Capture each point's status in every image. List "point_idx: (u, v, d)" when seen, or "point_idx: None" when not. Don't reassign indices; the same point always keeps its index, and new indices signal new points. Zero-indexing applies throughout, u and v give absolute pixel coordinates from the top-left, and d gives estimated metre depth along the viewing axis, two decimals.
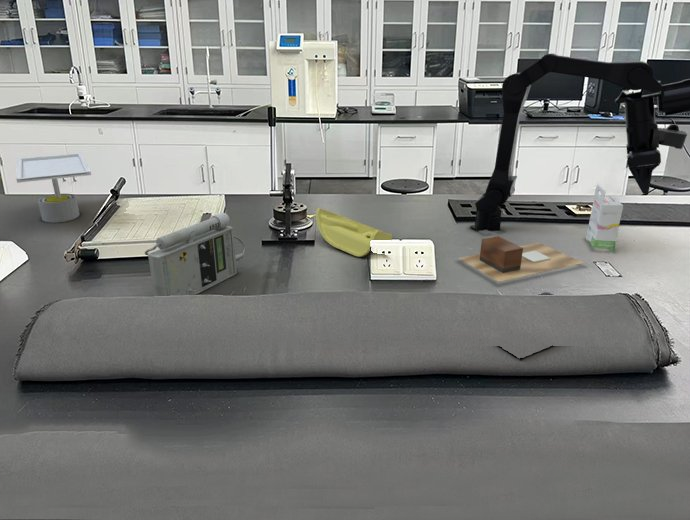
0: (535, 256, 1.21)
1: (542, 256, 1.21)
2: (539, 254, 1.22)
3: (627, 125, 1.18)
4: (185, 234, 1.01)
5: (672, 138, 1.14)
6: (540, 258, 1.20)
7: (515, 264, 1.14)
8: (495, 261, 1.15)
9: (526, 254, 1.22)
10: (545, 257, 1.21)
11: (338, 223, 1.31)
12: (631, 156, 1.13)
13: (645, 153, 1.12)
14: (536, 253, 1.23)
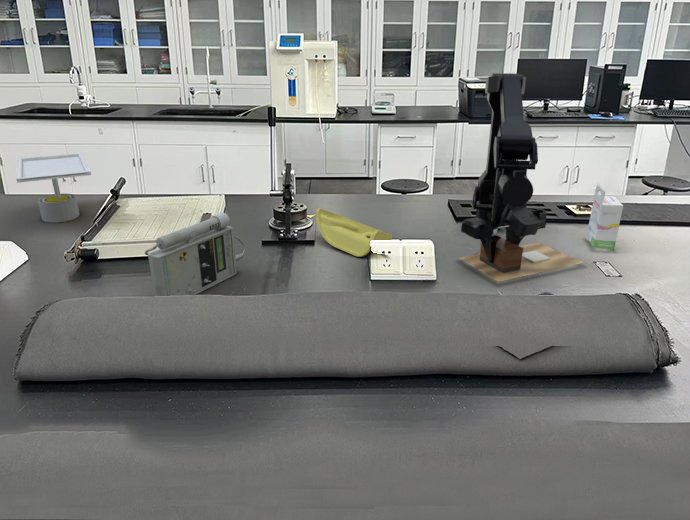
0: (535, 256, 1.21)
1: (542, 256, 1.21)
2: (539, 254, 1.22)
3: None
4: (184, 234, 1.01)
5: (515, 222, 1.07)
6: (540, 258, 1.20)
7: (515, 264, 1.14)
8: (495, 261, 1.15)
9: (526, 254, 1.22)
10: (545, 257, 1.21)
11: (338, 223, 1.31)
12: (463, 221, 1.12)
13: (471, 224, 1.10)
14: (536, 253, 1.23)
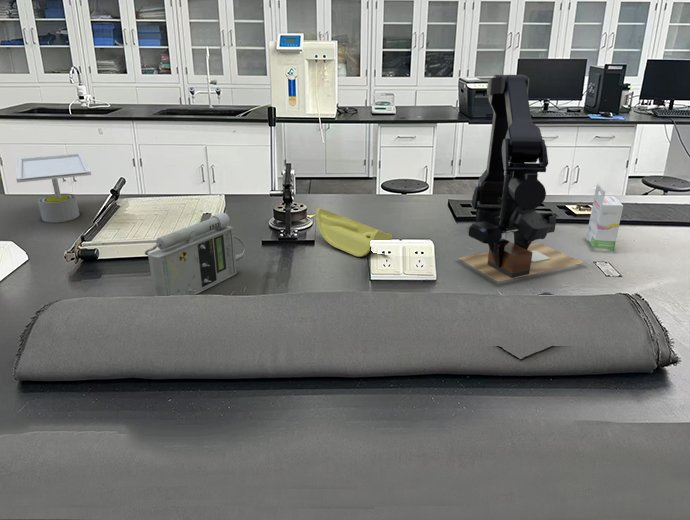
0: (535, 256, 1.21)
1: (542, 256, 1.21)
2: (539, 254, 1.22)
3: None
4: (184, 234, 1.01)
5: (524, 226, 1.05)
6: (540, 258, 1.20)
7: (524, 269, 1.12)
8: (504, 265, 1.13)
9: None
10: (545, 257, 1.21)
11: (338, 223, 1.31)
12: (471, 225, 1.10)
13: (479, 228, 1.08)
14: (536, 253, 1.23)
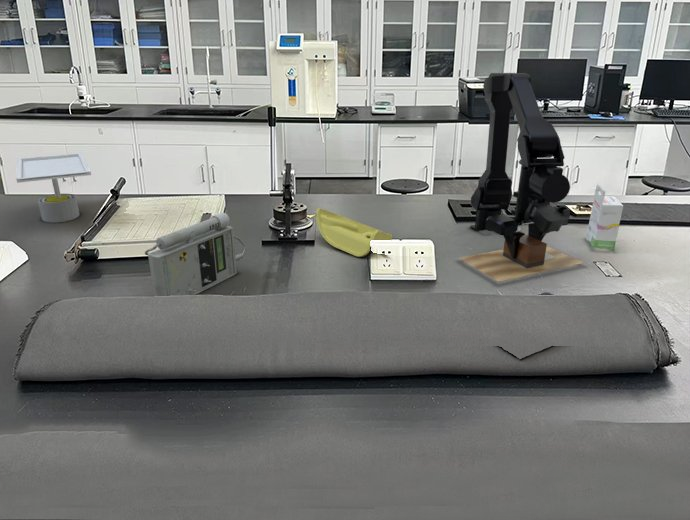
0: None
1: (547, 255, 1.22)
2: None
3: None
4: (184, 234, 1.01)
5: (539, 219, 1.10)
6: (545, 257, 1.21)
7: (539, 259, 1.17)
8: (519, 256, 1.17)
9: None
10: (550, 256, 1.21)
11: (338, 223, 1.31)
12: (488, 218, 1.15)
13: (496, 221, 1.13)
14: None
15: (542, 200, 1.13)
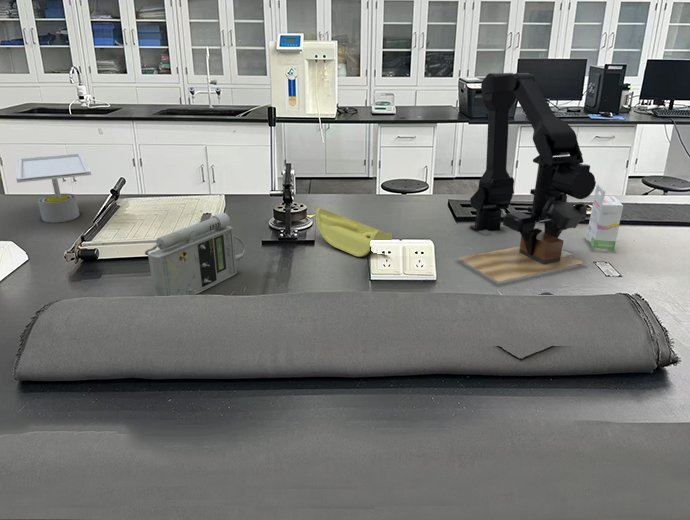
0: None
1: (563, 252, 1.23)
2: None
3: None
4: (185, 234, 1.01)
5: (557, 216, 1.12)
6: (561, 254, 1.22)
7: (555, 256, 1.18)
8: (536, 253, 1.19)
9: None
10: (566, 253, 1.23)
11: (338, 223, 1.31)
12: (505, 215, 1.17)
13: (514, 218, 1.14)
14: None
15: (559, 197, 1.14)
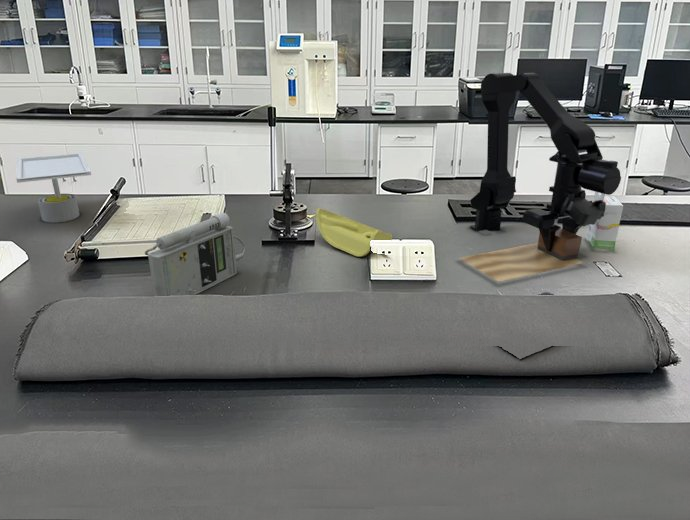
0: None
1: None
2: None
3: None
4: (184, 234, 1.01)
5: (576, 213, 1.14)
6: None
7: (574, 252, 1.20)
8: (554, 249, 1.21)
9: None
10: None
11: (338, 223, 1.31)
12: (525, 212, 1.19)
13: (533, 214, 1.16)
14: None
15: (578, 194, 1.16)
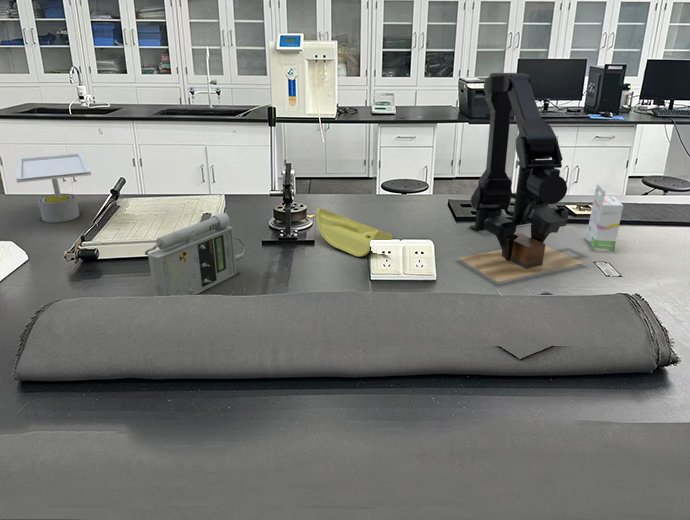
0: None
1: None
2: None
3: None
4: (184, 234, 1.01)
5: (537, 220, 1.10)
6: None
7: (537, 260, 1.16)
8: (518, 257, 1.17)
9: None
10: None
11: (338, 223, 1.31)
12: (486, 220, 1.15)
13: (494, 222, 1.12)
14: None
15: (540, 201, 1.12)
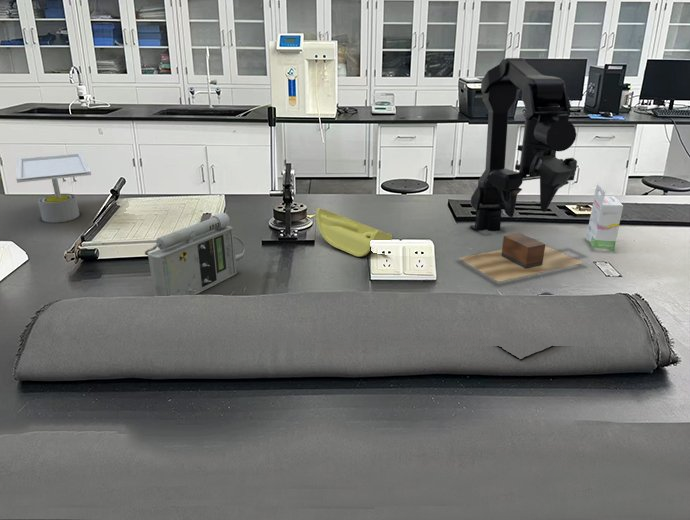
0: None
1: None
2: None
3: None
4: (184, 234, 1.01)
5: (545, 171, 1.06)
6: None
7: (537, 260, 1.16)
8: (518, 257, 1.17)
9: None
10: None
11: (338, 223, 1.31)
12: (491, 172, 1.11)
13: (500, 174, 1.08)
14: None
15: (548, 152, 1.08)
